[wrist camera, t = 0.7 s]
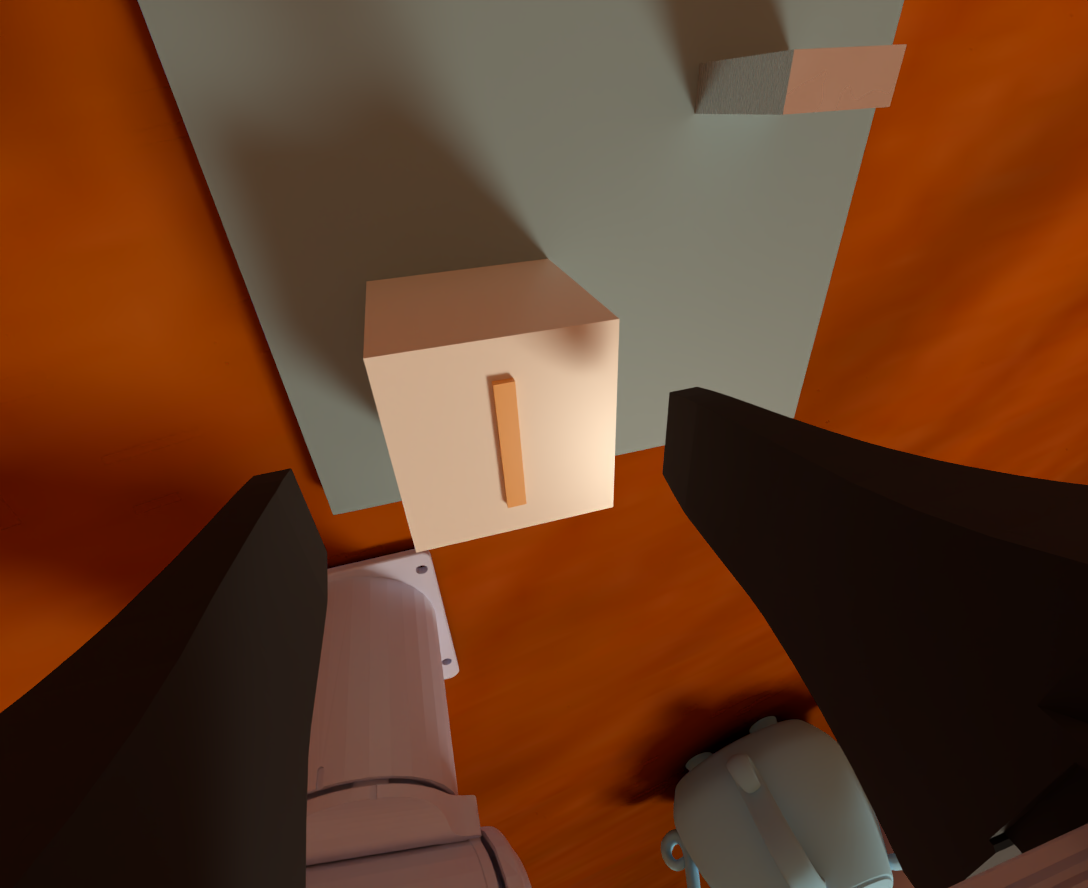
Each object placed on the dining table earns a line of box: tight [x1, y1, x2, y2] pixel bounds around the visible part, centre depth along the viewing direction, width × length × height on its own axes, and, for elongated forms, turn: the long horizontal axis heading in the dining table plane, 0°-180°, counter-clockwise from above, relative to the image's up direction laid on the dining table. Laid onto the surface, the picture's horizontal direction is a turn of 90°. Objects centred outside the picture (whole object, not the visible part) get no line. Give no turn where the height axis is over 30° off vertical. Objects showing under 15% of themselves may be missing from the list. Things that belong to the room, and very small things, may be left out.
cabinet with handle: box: [363, 259, 620, 553], centre depth 15 cm, size 6×6×6 cm
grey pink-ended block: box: [695, 44, 907, 115], centre depth 13 cm, size 1×3×4 cm, turn 93°
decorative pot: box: [661, 716, 902, 888], centre depth 41 cm, size 16×16×14 cm
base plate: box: [138, 0, 904, 515], centre depth 17 cm, size 17×20×1 cm
